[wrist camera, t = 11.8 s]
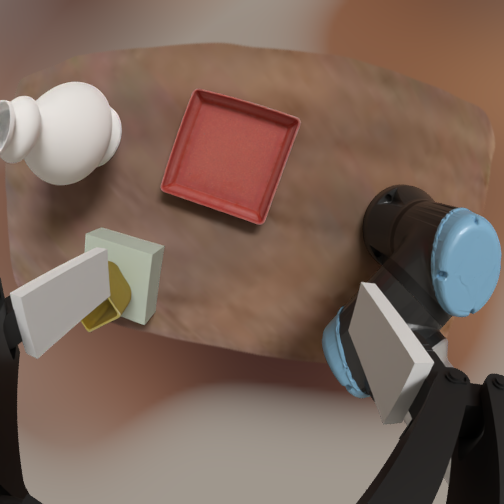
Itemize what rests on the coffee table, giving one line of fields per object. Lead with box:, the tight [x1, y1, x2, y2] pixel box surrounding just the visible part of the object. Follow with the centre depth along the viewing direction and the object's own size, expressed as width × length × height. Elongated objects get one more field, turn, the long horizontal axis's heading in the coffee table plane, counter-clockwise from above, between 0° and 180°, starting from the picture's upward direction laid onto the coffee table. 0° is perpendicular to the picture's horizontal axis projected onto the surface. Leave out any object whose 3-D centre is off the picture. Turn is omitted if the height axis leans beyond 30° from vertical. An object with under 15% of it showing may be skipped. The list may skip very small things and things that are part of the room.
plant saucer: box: [161, 89, 301, 225], centre depth 44 cm, size 18×18×3 cm
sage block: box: [85, 228, 165, 325], centre depth 50 cm, size 14×14×6 cm
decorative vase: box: [0, 82, 122, 185], centre depth 34 cm, size 18×18×25 cm
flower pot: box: [81, 261, 131, 332], centre depth 43 cm, size 9×9×9 cm
